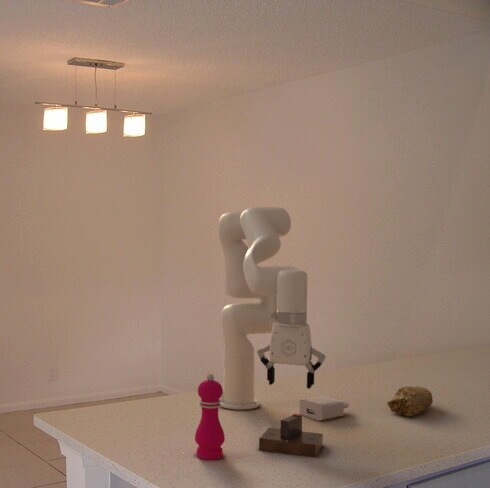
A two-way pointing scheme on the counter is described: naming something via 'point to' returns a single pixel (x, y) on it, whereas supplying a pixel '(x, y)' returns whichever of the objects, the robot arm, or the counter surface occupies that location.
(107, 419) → the counter surface
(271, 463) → the counter surface
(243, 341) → the robot arm
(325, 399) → the charger
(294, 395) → the counter surface
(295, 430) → the dark bar red tip
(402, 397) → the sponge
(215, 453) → the pepper mill
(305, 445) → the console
